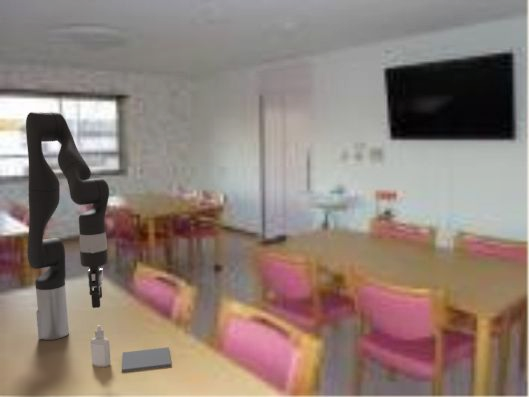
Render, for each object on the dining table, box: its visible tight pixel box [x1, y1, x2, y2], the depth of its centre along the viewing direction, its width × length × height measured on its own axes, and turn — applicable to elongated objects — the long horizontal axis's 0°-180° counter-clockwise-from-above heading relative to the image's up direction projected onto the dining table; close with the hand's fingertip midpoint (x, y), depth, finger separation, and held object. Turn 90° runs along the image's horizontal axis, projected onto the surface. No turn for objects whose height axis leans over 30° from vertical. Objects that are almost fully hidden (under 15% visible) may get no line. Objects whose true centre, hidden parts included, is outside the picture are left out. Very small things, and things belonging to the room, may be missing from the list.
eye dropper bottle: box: [90, 324, 112, 368], centre depth 158 cm, size 4×6×12 cm
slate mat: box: [121, 347, 172, 373], centre depth 160 cm, size 14×12×1 cm
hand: (97, 302), depth 156 cm, fingers open, 8 cm apart
